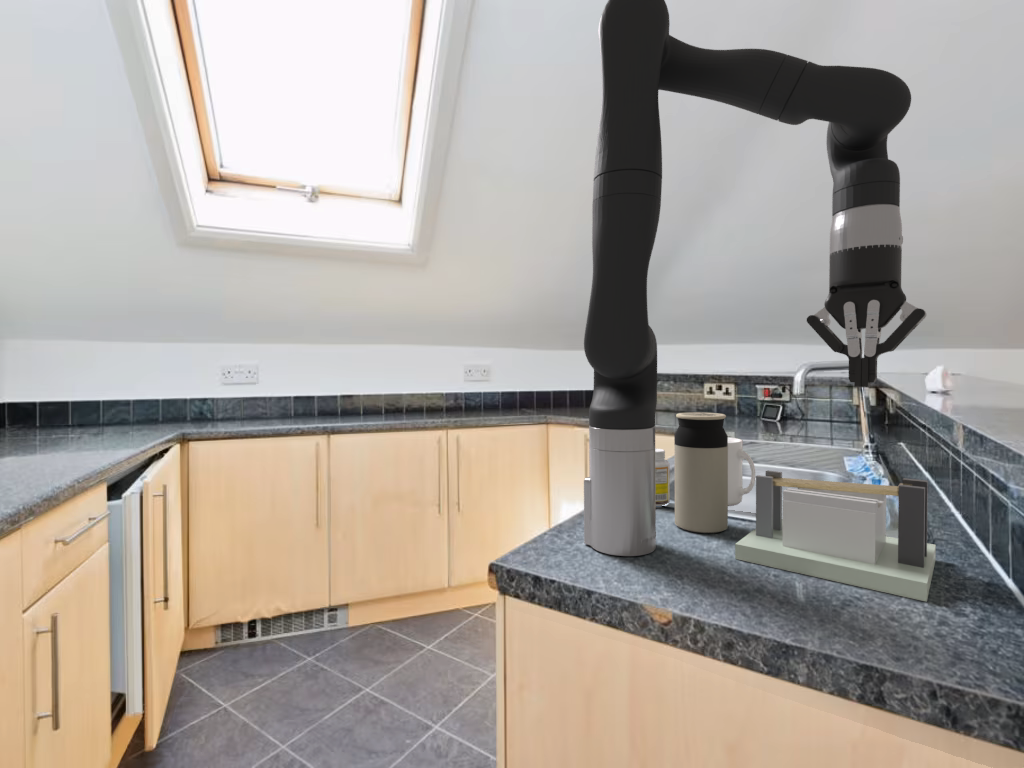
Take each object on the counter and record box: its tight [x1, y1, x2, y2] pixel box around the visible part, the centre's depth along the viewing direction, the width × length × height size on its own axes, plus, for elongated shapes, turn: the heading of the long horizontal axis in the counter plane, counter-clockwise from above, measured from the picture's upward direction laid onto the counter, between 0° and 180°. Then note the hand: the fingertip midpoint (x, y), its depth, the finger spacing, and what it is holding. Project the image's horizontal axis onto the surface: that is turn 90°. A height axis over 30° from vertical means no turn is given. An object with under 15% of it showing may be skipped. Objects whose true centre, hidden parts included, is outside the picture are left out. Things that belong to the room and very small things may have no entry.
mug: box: [728, 436, 756, 507], centre depth 99 cm, size 10×12×12 cm
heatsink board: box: [734, 470, 937, 602], centre depth 69 cm, size 20×16×11 cm
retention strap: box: [769, 475, 912, 497], centre depth 69 cm, size 17×3×1 cm, turn 48°
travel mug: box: [673, 411, 729, 534], centre depth 84 cm, size 8×8×18 cm
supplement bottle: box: [655, 448, 671, 506], centre depth 98 cm, size 6×6×10 cm
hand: (862, 386), depth 66 cm, fingers closed
